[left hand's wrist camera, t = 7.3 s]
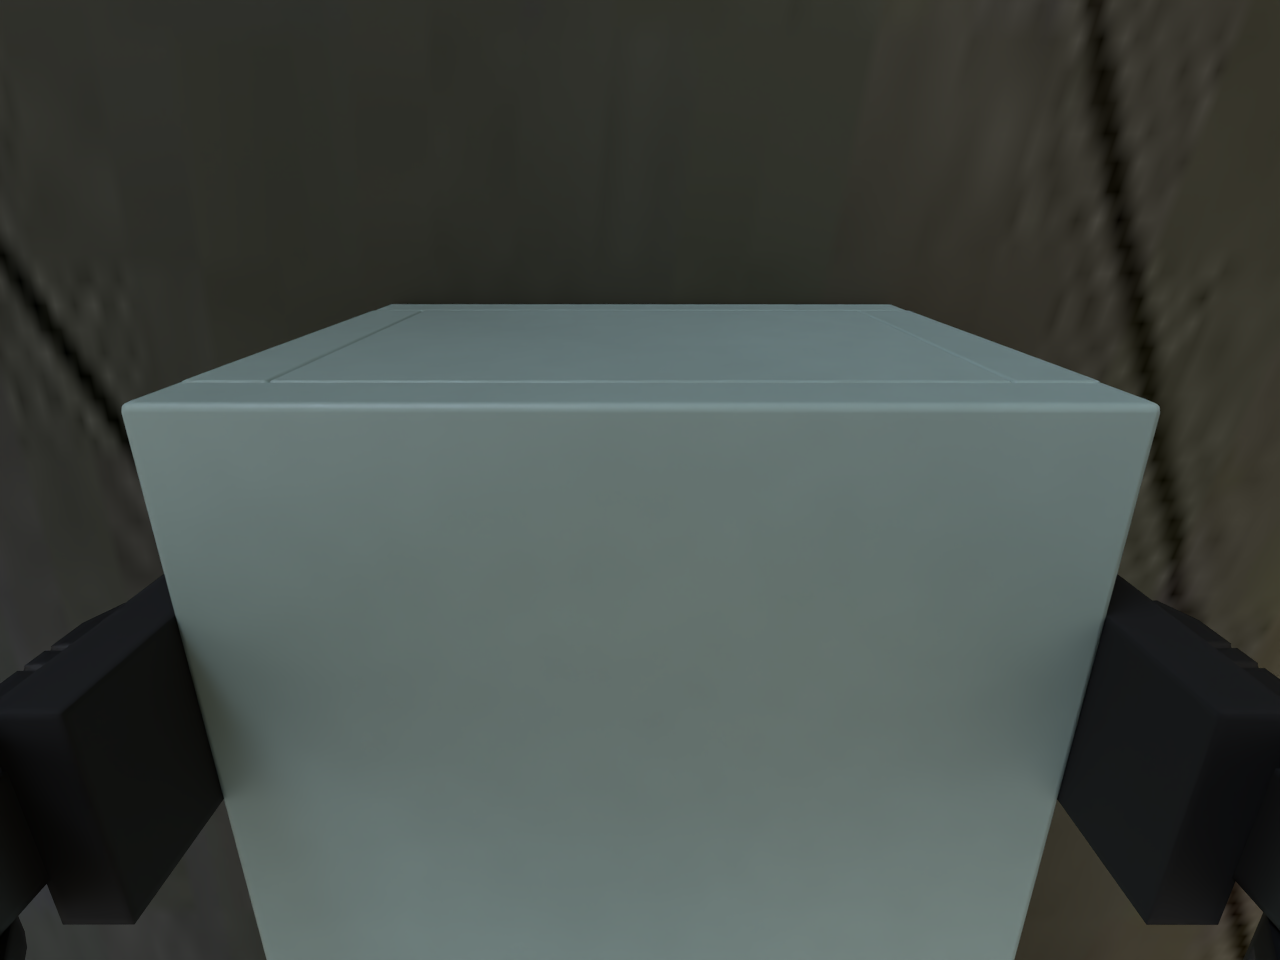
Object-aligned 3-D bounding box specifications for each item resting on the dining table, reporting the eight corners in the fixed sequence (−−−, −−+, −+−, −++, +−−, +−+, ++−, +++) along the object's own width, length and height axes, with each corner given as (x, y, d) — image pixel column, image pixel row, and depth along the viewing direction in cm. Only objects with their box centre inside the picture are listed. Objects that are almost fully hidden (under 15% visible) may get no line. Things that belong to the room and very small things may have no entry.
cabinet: (810, 972, 22) (903, 1386, 14) (469, 972, 22) (377, 1384, 14) (892, 304, 15) (1166, 404, 7) (388, 303, 15) (113, 403, 7)
